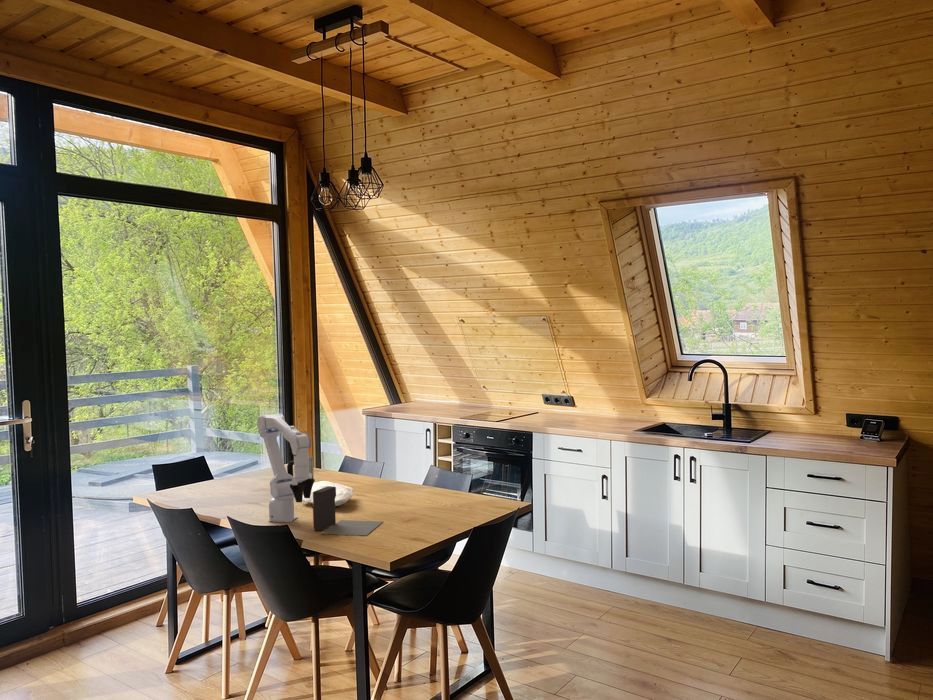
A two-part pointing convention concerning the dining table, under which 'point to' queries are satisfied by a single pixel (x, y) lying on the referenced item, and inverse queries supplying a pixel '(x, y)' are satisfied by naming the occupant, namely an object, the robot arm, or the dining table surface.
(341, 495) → the crumpled cloth
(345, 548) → the dining table surface
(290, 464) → the milk frother
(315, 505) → the calculator
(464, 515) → the dining table surface
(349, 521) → the placemat
